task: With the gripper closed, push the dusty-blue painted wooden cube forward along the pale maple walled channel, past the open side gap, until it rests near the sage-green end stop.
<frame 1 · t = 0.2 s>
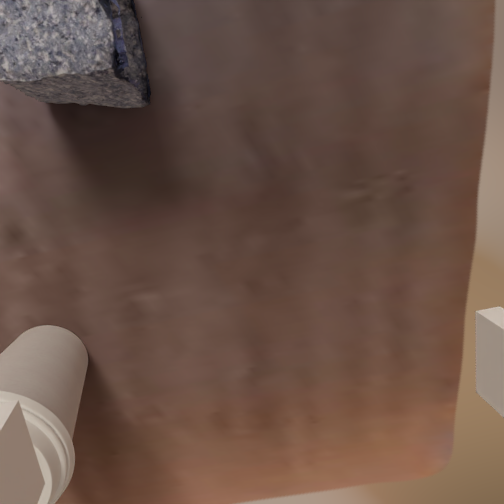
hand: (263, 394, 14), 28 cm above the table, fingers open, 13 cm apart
stone: (86, 51, 36), on the table
coffee cup: (50, 358, 42), on the table
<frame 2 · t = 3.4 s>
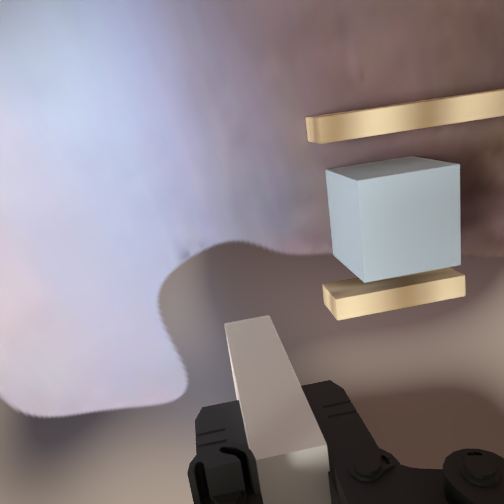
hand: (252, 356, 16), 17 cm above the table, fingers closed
block: (371, 206, 33), on the table
channel: (493, 185, 34), on the table
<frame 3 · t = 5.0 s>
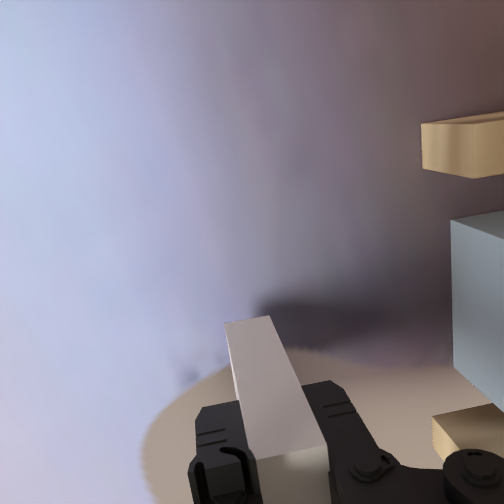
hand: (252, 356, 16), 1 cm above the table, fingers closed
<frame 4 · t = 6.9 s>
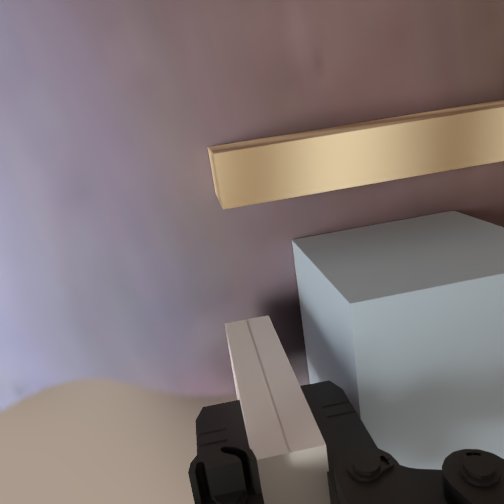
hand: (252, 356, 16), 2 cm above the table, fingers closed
block: (379, 302, 18), on the table, touching gripper
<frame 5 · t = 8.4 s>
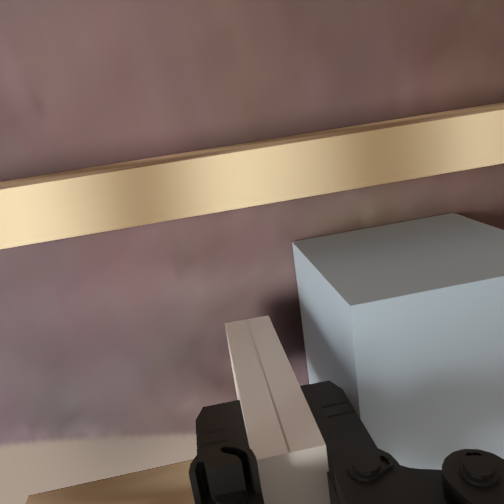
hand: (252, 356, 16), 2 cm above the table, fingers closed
block: (379, 304, 18), on the table, touching gripper
channel: (351, 308, 18), on the table
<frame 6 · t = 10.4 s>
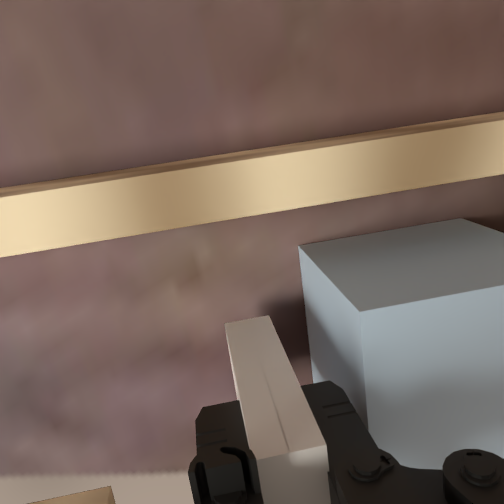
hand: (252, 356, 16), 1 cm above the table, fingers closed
block: (385, 309, 18), on the table, touching gripper
channel: (193, 347, 17), on the table
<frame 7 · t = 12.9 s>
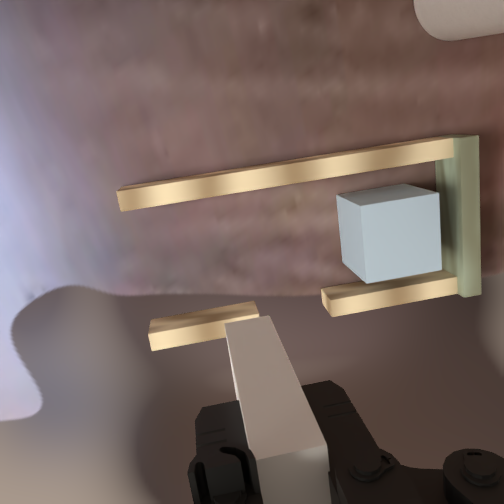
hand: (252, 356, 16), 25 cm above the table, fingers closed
block: (372, 223, 41), on the table
channel: (292, 237, 41), on the table
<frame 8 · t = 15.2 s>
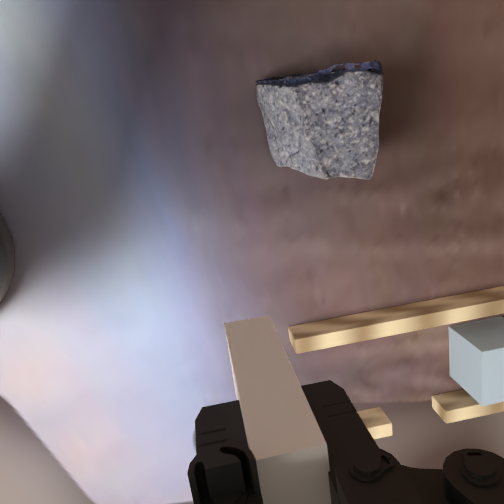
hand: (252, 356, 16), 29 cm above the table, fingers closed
stone: (305, 123, 43), on the table
block: (474, 345, 52), on the table
channel: (412, 359, 51), on the table
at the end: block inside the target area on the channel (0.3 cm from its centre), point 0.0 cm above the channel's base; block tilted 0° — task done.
